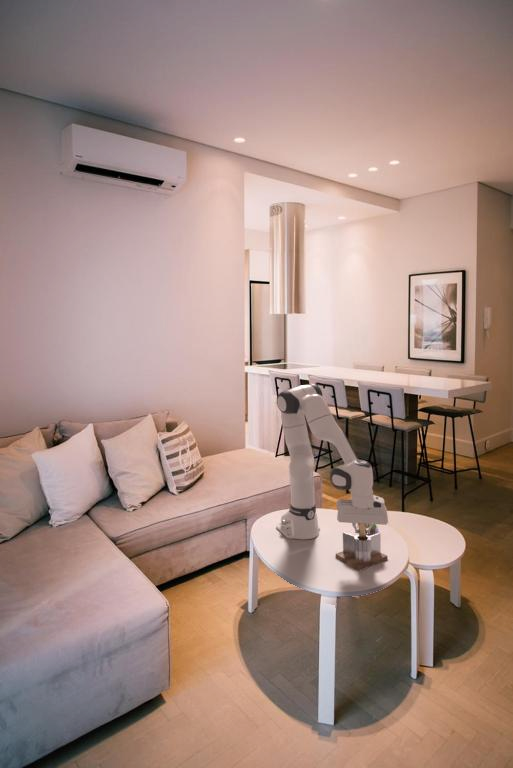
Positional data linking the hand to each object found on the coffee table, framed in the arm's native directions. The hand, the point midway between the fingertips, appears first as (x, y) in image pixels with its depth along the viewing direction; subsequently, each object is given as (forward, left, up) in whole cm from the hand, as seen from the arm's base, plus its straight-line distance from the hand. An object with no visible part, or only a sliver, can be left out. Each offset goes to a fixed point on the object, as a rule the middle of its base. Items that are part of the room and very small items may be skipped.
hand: (362, 533), depth 190 cm
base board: (-3, +2, -12) cm, 13 cm away
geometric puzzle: (-15, +20, -13) cm, 28 cm away
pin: (0, 0, -5) cm, 5 cm away
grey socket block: (-3, +3, -11) cm, 12 cm away
